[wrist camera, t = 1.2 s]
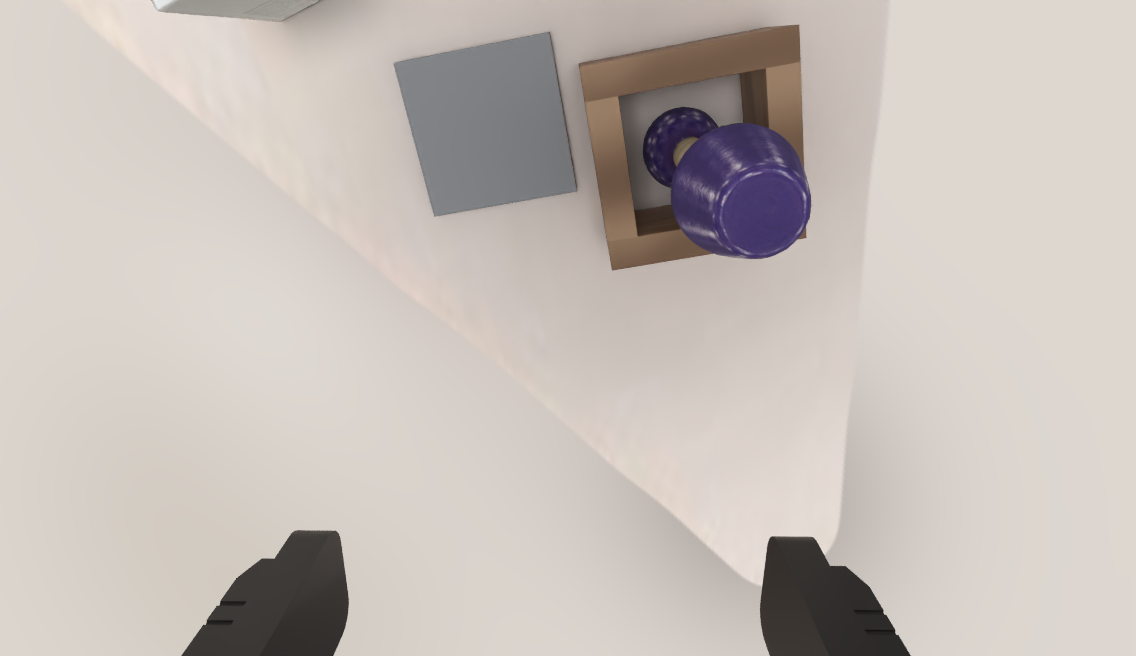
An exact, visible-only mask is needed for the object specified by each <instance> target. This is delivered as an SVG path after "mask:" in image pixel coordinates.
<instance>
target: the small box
mask: <svg viewBox="0 0 1136 656" xmlns="http://www.w3.org/2000/svg"><path fill="white" fill-rule="evenodd" d="M151 1H152V3H153V5H154V7H155V8H156V10H158V11H161V12H167V13H179V14H190V15H203V16H218V17H230V18H243V19H253V20H265V21H275V22H281V21H282V20H284V19H286V18H288V17H289V16H291V15H293V14H295V13H297V12H299V11H301V10H303V9H305V8H306V7H308V6H310V5H312V4H314V3H316V2H318V1H319V0H151Z"/></svg>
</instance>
